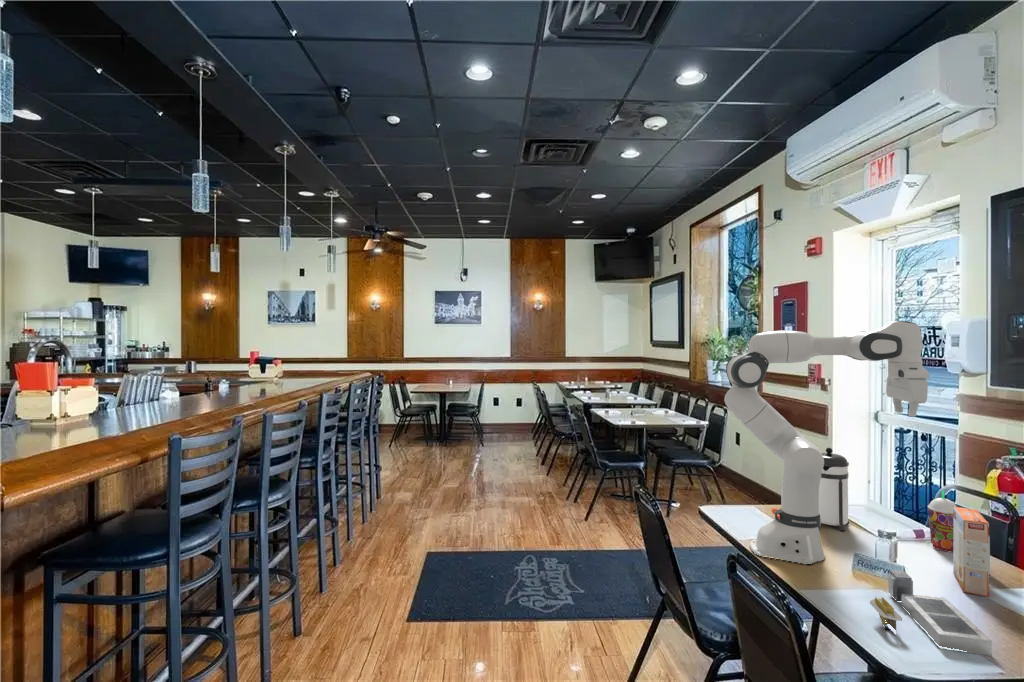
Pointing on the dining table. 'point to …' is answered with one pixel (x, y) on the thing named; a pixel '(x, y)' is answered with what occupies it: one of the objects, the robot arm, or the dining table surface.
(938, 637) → the grey rectangular tray
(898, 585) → the grey rectangular block
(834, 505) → the coffee press
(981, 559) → the cracker box
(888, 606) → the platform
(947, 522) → the smoothie
